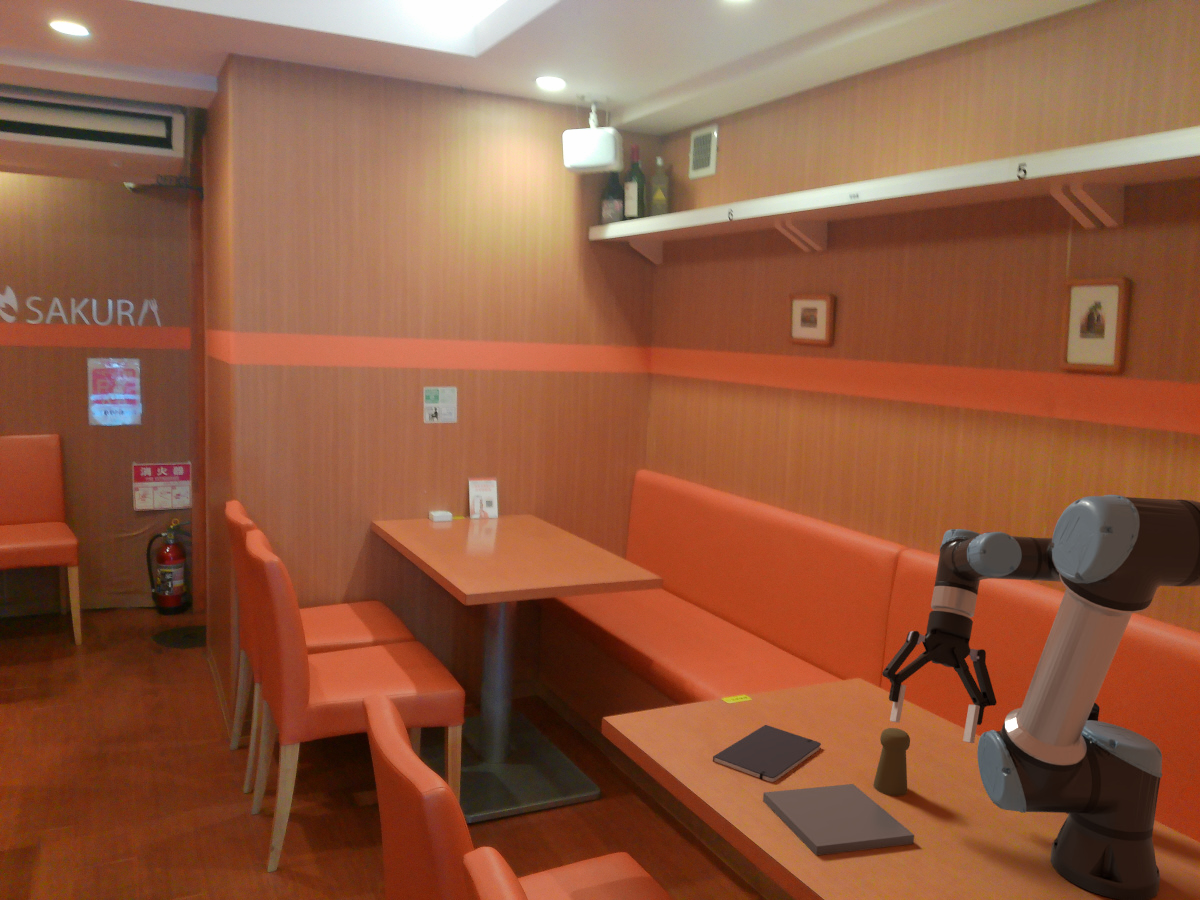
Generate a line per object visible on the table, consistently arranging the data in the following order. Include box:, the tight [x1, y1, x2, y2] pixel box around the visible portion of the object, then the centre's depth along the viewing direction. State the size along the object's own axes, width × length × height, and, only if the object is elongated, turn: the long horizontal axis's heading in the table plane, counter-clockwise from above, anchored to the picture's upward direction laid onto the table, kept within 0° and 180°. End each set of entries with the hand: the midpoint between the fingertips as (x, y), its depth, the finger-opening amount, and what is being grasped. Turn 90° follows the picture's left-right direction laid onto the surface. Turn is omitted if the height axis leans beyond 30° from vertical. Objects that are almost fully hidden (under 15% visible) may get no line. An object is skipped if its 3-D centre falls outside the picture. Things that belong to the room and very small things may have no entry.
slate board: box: [762, 783, 915, 856], centre depth 160 cm, size 18×18×2 cm
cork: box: [872, 727, 911, 797], centre depth 174 cm, size 6×6×11 cm
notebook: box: [712, 724, 822, 783], centre depth 185 cm, size 13×2×21 cm
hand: (931, 732), depth 167 cm, fingers open, 13 cm apart
